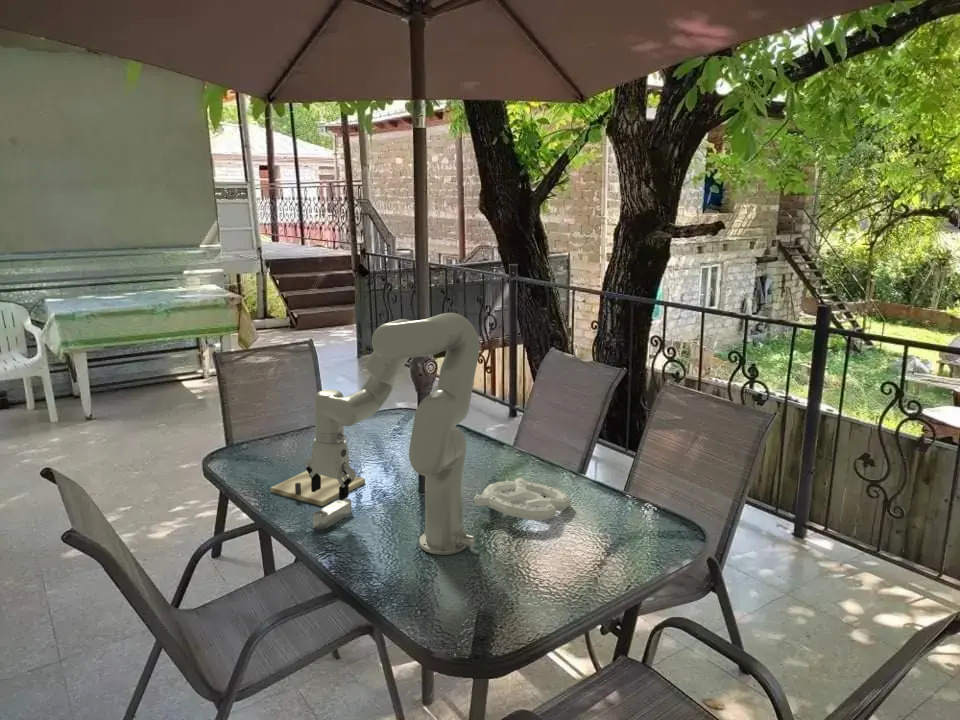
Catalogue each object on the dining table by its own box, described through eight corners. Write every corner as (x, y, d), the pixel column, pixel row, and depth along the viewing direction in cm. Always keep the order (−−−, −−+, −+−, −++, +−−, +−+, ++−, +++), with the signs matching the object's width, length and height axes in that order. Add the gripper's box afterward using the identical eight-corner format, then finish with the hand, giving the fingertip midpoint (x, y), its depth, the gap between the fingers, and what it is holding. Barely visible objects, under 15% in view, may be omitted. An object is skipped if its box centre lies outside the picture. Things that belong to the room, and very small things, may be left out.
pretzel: (508, 489, 221) (510, 469, 220) (578, 509, 209) (580, 488, 208) (461, 510, 197) (464, 487, 196) (537, 533, 185) (540, 510, 184)
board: (365, 482, 220) (364, 469, 219) (322, 506, 202) (321, 491, 201) (315, 470, 229) (315, 457, 228) (270, 492, 212) (270, 478, 211)
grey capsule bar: (354, 511, 199) (354, 500, 199) (321, 531, 187) (321, 518, 187) (343, 508, 201) (343, 497, 201) (310, 527, 189) (309, 515, 188)
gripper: (363, 438, 188) (363, 497, 192) (314, 425, 196) (314, 482, 200) (346, 446, 182) (346, 507, 186) (295, 433, 190) (296, 491, 194)
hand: (329, 494), depth 193 cm, fingers open, 9 cm apart
